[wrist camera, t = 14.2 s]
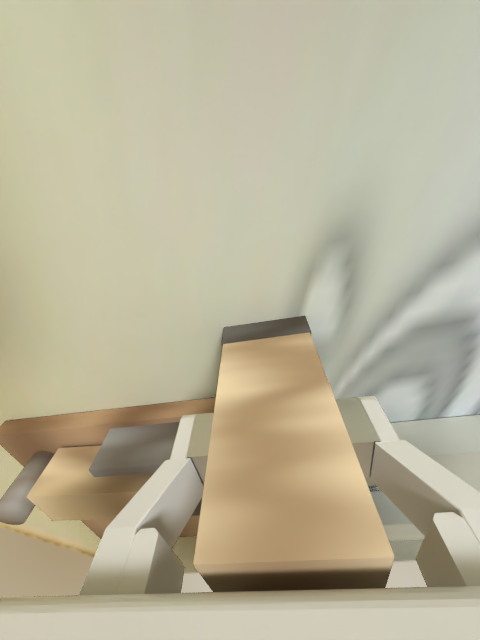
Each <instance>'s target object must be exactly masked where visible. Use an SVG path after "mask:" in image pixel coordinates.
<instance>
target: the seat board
mask: <svg viewBox="0 0 480 640" xmlns="http://www.w3.org/2000/svg"><path fill="white" fill-rule="evenodd" d="M215 400H216V398H208V399H199V400H190V401H181V402H172V403H163V404H154V405H145V406H136V407H127V408H118V409H109V410H100V411H91V412H82V413H72V414H63V415H54V416H45V417H36V418H27V419H18V420H9V421H5V422H4V423H3V424H2V425H1V426H0V445H1V446H2V447H3V448H4V449H5V450H6V451H8V452H9V453H10V454H11V455H12V456H13V457H14V458H15V459H16V460H17V461H18V462H19V463H20V464H21V465H22V466H24V468H23V470H22V471H21V472H20V474H19V475H18V476H17V478H16V479H15V480H14V482H13V483H12V484H11V486H10V487H9V488H8V490H7V491H6V493H5V494H4V495H3V497H2V498H1V499H0V522H3V523H6V524H12V525H19V524H23V523H24V522H25V521H26V519H27V518H28V516H29V515H30V513H31V511H32V510H33V508H34V507H35V505H34V504H33V503H32V502H31V501H30V500H29V499H28V498H27V497H26V496H27V495H28V493H29V492H30V490H31V489H32V487H33V486H34V484H35V483H36V481H37V480H38V478H39V477H40V475H41V474H42V472H43V471H44V469H45V468H46V466H47V465H48V463H49V462H50V460H51V459H52V457H53V456H54V454H55V453H56V451H57V450H58V449H59V448H68V447H83V446H99V445H101V447H100V449H99V451H98V453H97V455H96V457H95V459H94V460H93V462H92V464H91V466H90V468H89V472H90V473H91V474H92V475H93V476H94V477H104V476H117V475H130V474H142V473H155V472H156V470H157V469H158V468H159V467H160V466H161V465H162V464H163V462H164V461H165V460H170V457H171V453H172V449H173V445H174V442H175V438H176V434H177V430H178V427H179V423H180V419H181V418H182V416H183V415H192V414H203V413H214V408H215ZM199 519H200V515H199V516H191V517H190V519H189V520H188V522H187V524H186V526H185V527H184V529H183V531H182V532H181V534H180V536H179V537H186V536H197V533H198V526H199ZM113 520H114V519H89V520H81V521H82V522H83V523H84V524H85V525H86V526H87V527H89V528H90V529H91V530H92V531H93V532H94V533H95V534H96V535H97V536H98V537H99V538H100V539H102V537H103V534H104V531H105V529H106V528H107V527H108V525H109V524H110V523H111V522H112V521H113Z"/></svg>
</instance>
